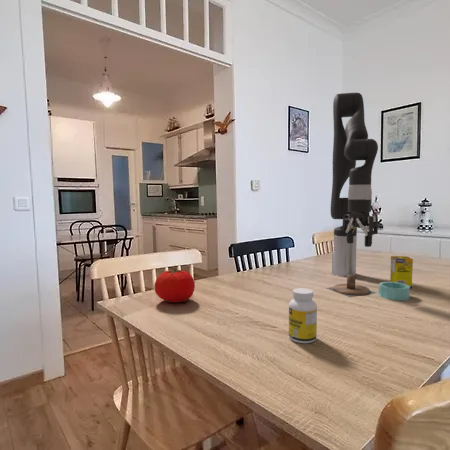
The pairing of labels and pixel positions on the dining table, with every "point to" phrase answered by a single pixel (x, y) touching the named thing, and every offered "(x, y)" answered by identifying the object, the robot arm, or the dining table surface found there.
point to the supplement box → (401, 270)
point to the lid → (351, 287)
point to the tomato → (174, 285)
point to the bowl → (394, 291)
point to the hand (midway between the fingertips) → (358, 244)
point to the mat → (352, 295)
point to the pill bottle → (302, 316)
